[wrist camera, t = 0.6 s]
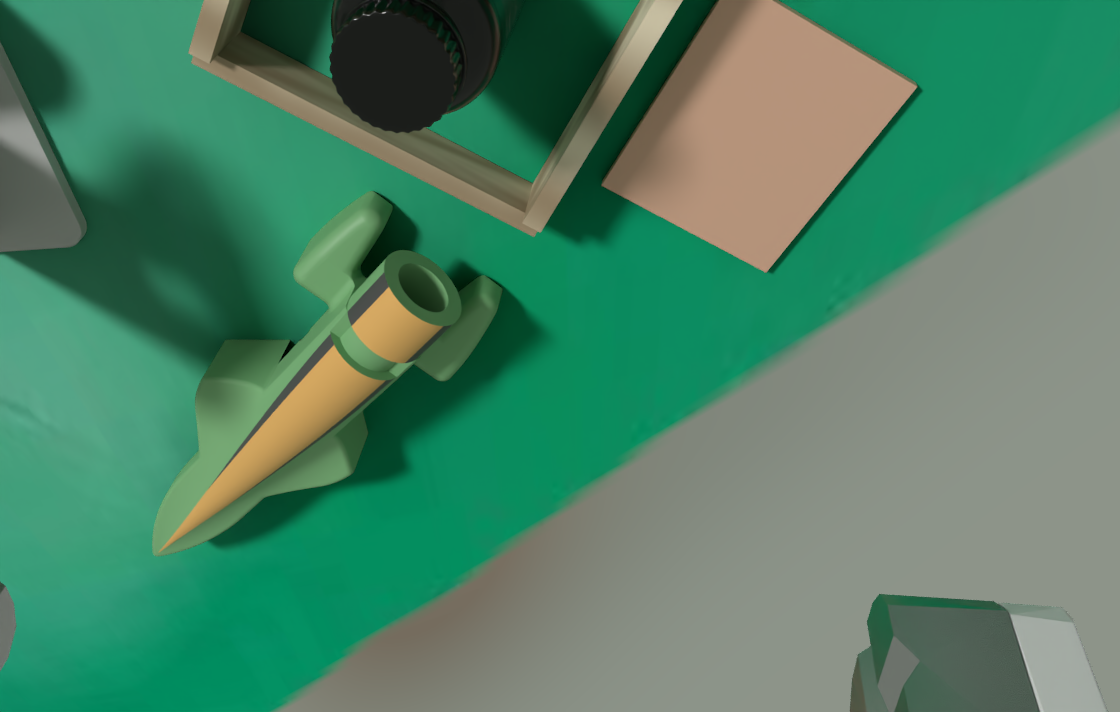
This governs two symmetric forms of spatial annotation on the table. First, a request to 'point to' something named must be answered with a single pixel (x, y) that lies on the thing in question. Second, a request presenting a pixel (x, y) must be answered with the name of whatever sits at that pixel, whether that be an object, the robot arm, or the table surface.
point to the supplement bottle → (416, 56)
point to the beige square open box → (424, 150)
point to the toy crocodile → (319, 377)
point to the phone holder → (31, 178)
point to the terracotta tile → (756, 128)
